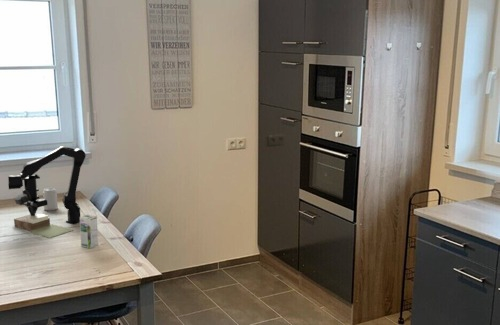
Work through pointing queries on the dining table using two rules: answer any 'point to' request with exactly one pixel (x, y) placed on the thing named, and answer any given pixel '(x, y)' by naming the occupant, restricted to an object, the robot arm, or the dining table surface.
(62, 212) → the dining table surface
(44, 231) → the mat
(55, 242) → the dining table surface
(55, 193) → the can
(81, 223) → the syrup box
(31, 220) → the cream chamfered block
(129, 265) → the dining table surface
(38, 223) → the brown flat block
